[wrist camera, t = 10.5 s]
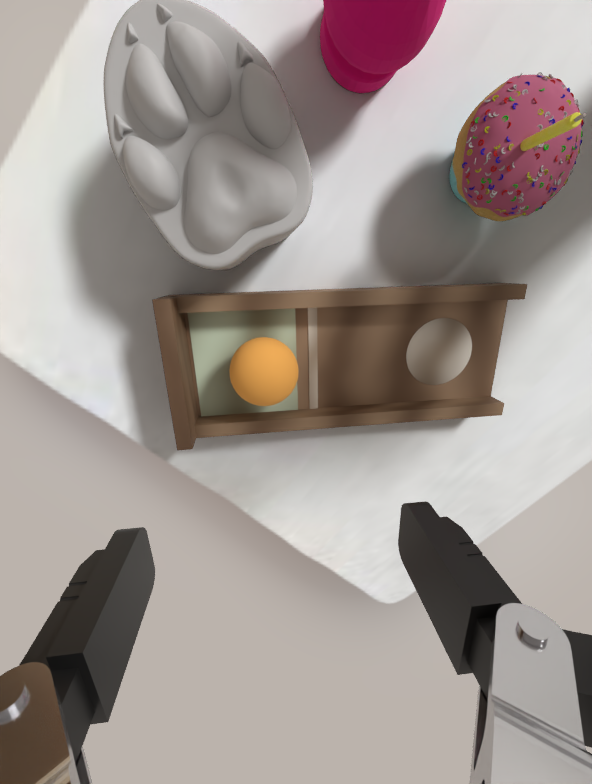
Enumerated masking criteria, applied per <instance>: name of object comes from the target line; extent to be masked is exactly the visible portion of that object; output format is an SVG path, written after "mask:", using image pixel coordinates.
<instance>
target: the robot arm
mask: <svg viewBox="0 0 592 784" xmlns="http://www.w3.org/2000/svg"><path fill="white" fill-rule="evenodd" d="M398 545H399V552H400V556H401V559H402V562H403V564H404V566H405V568H406V570H407V572H408V574H409V576H410V578H411V580H412V582H413V584H414V586H415V588H416V591H417V593H418V595H419V597H420V599H421V601H422V603H423V605H424V607H425V609H426V611H427V613H428V615H429V617H430V619H431V621H432V623H433V625H434V627H435V629H436V631H437V633H438V635H439V638H440V640H441V642H442V644H443V646H444V648H445V650H446V652H447V654H448V656H449V658H450V660H451V662H452V664H453V666H454V668H455V670H456V672H457V674H458V675H460V674H467V673H473V674H474V675H475V677H476V679H477V681H478V683H479V685H480V686H479V692H478V700H477V710H476V721H475V732H474V743H473V754H472V764H471V775H470V783H469V784H592V754H591V753H589V752H587V751H586V748H585V746H589V747H592V635H588V634H582V633H576V632H572V631H567V630H563V629H561V628H560V626H559V625H558V624H556V622H554V621H553V620H552V619H551V618H550V617H548V616H547V615H546V614H544V613H543V612H540V611H539V610H537V609H535V608H533V607H530V606H527V605H524V604H522V603H521V602H520V601H519V599H518V598H517V597H516V596H515V594H514V593H513V592H512V590H511V589H510V588H509V587H508V585H507V584H506V583H505V582H504V580H503V579H502V578H501V576H500V575H499V574H498V573H497V571H496V570H495V569H494V567H493V566H492V565H491V564H490V562H489V561H488V560H487V559H486V557H485V556H483V555H482V552H481V551H480V550H479V548H478V547H477V546H476V545H475V544H473V541H472V539H471V538H470V537H469V536H468V534H467V533H466V532H465V531H464V529H463V528H462V527H461V526H459V525H458V524H456V523H455V522H454V521H452V520H451V519H449V518H448V517H439V516H438V514H437V513H436V512H435V510H434V509H433V508H432V506H431V505H430V504H429V503H428V502H416V503H405V504H403V505H402V508H401V518H400V529H399V539H398ZM154 577H155V567H154V562H153V557H152V553H151V548H150V544H149V540H148V535H147V531H146V530H145V528H143V527H142V528H132V529H121V530H117V531H115V533H114V534H113V536H112V538H111V539H110V541H109V543H108V545H107V547H106V549H105V550H97V551H95V552H94V553H93V554H92V555H91V556H90V557H89V558H88V559H87V560H85V561H84V563H82V564H81V565H80V566H79V568H78V570H77V571H76V573H75V575H74V576H73V578H72V580H71V581H70V583H69V587H67V588H66V590H65V591H64V593H63V594H62V596H61V599H60V602H58V603H57V604H56V606H55V608H54V609H53V611H52V613H51V614H50V616H49V618H48V619H47V621H46V622H45V624H44V626H43V627H42V629H41V631H40V632H39V634H38V636H37V637H36V639H35V641H34V642H33V644H32V645H31V647H30V649H29V651H28V652H27V654H26V655H25V657H24V659H23V660H22V662H21V663H20V665H19V666H17V667H15V668H13V669H11V670H9V671H7V672H6V673H4V674H3V675H1V676H0V784H92V780H91V777H90V773H89V769H88V765H87V761H86V757H85V753H84V750H83V747H82V745H83V742H84V740H85V737H86V734H87V731H88V729H89V726H90V724H97V723H104V722H108V721H109V717H110V715H111V712H112V708H113V705H114V703H115V699H116V697H117V694H118V691H119V687H120V684H121V681H122V679H123V676H124V673H125V670H126V667H127V664H128V661H129V658H130V655H131V652H132V649H133V645H134V643H135V640H136V637H137V634H138V631H139V628H140V625H141V621H142V619H143V616H144V612H145V610H146V607H147V604H148V601H149V598H150V595H151V592H152V589H153V585H154V579H155V578H154Z"/></svg>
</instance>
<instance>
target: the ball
mask: <svg viewBox="0 0 592 784" xmlns="http://www.w3.org/2000/svg"><path fill="white" fill-rule="evenodd" d="M229 373H230V380H231V383H232V386H233V388H234V389H235V391H236V392H237V394H238V395H239V396H240V397H241V398H242V399H244V400H245V401H247V402H249V403H251V404H254V405H258V406H271V405H275V404H277V403H280V402H281V401H283V400H284V399H286V398H287V397H288V396H289V395H290V394H291V393H292V391H293V390H294V388H295V386H296V383H297V380H298V373H299V370H298V364H297V360H296V358H295V356H294V354H293V352H292V351H291V350H290V349H289V348H288V346H286V345H285V344H284V343H282V342H281V341H279V340H276V339H273V338H268V337H259V338H254V339H251V340H249V341H247V342H245V343H244V344H242V345H241V346H240V347H239V348H238V349H237V351H236V352H235V354H234V355H233V357H232V360H231V363H230V369H229Z"/></svg>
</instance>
